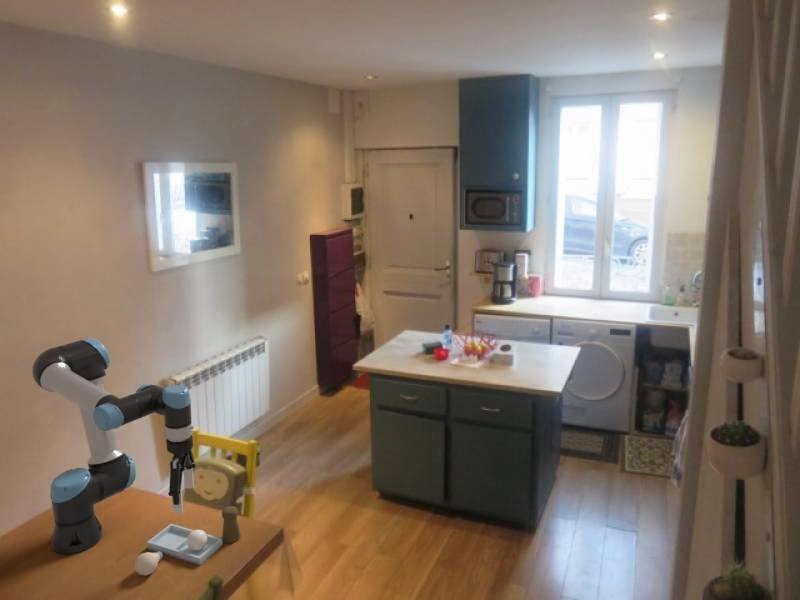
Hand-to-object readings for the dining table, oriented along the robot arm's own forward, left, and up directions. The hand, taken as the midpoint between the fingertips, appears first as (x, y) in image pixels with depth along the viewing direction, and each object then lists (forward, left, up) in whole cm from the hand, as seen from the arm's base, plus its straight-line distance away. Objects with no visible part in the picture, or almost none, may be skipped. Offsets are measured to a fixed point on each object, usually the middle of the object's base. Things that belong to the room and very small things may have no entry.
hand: (183, 499), depth 191 cm
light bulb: (-8, -8, -22) cm, 24 cm away
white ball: (-1, +5, -21) cm, 21 cm away
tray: (-6, +5, -21) cm, 23 cm away
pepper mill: (+5, +15, -22) cm, 27 cm away
